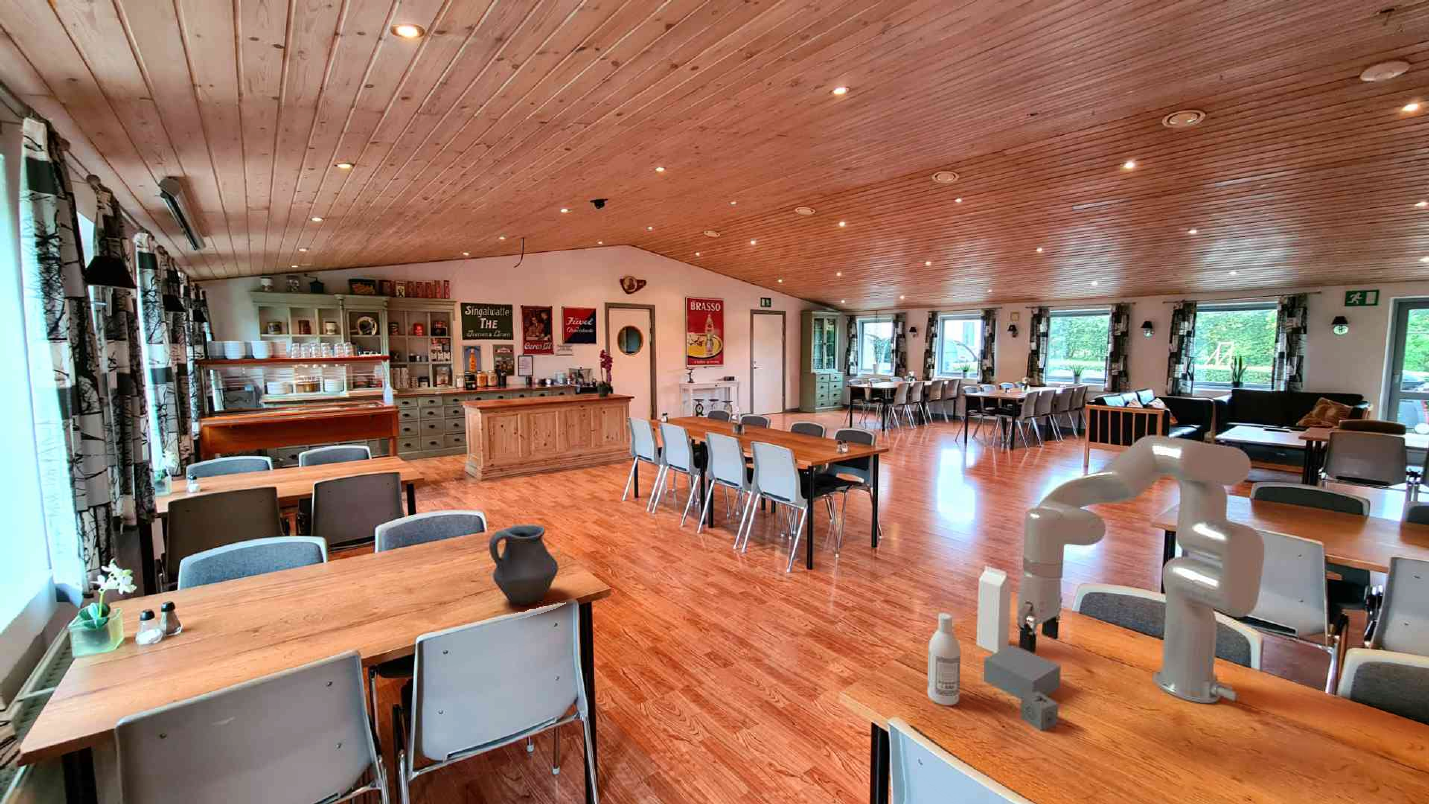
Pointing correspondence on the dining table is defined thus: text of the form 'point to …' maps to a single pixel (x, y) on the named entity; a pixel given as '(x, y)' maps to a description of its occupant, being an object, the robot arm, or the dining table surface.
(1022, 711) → the dice cube
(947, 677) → the bath foam
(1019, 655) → the grey block
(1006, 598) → the milk
